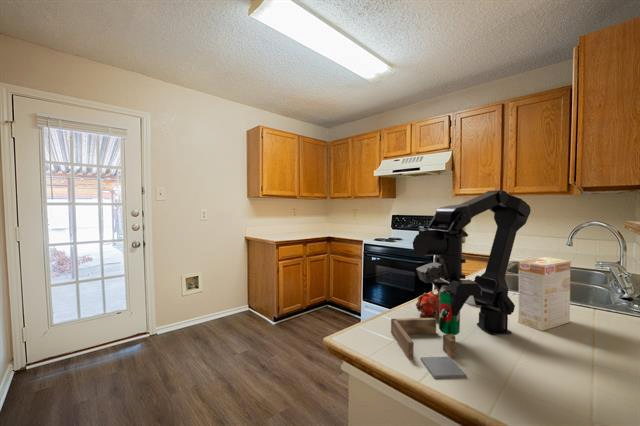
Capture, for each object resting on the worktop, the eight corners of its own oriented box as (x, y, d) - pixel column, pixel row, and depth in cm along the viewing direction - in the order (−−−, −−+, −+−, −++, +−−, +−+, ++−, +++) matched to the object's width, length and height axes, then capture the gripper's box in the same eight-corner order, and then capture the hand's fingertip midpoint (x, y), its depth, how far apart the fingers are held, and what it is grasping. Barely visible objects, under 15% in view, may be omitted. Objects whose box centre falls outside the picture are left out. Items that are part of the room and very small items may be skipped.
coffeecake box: (544, 314, 91) (545, 256, 91) (571, 322, 85) (572, 260, 84) (516, 322, 86) (517, 260, 85) (542, 331, 79) (543, 264, 79)
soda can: (462, 337, 71) (462, 291, 70) (441, 335, 72) (441, 290, 71) (456, 328, 76) (457, 285, 75) (437, 327, 77) (437, 284, 76)
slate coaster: (449, 358, 65) (449, 356, 65) (466, 377, 58) (466, 374, 58) (420, 359, 65) (420, 357, 65) (434, 378, 58) (434, 375, 58)
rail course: (434, 331, 79) (434, 317, 79) (460, 357, 66) (460, 341, 66) (391, 332, 79) (391, 318, 79) (408, 358, 65) (408, 342, 65)
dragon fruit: (445, 317, 94) (421, 329, 88) (427, 297, 99) (403, 307, 94) (457, 302, 88) (432, 314, 83) (437, 282, 94) (413, 292, 88)
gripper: (407, 248, 82) (407, 300, 82) (437, 261, 63) (436, 327, 64) (443, 248, 83) (443, 299, 83) (483, 260, 64) (482, 326, 64)
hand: (449, 311), depth 73 cm, fingers closed on soda can, 5 cm apart
